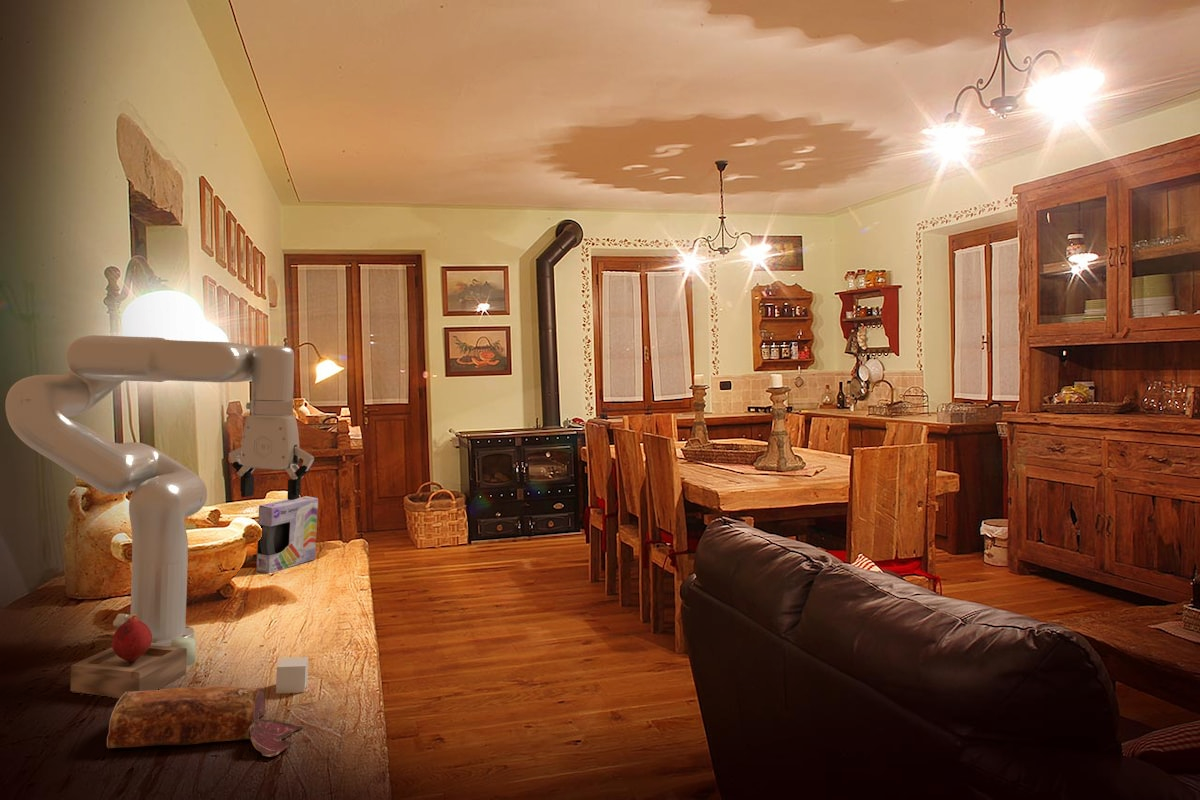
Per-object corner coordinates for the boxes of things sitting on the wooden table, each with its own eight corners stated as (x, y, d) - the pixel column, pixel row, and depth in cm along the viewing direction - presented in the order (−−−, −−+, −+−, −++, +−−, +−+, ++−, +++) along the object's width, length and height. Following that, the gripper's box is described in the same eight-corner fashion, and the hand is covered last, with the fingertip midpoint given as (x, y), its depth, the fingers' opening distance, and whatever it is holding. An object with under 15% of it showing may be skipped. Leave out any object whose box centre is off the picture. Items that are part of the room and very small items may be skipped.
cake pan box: (266, 574, 214) (269, 506, 214) (251, 572, 216) (254, 504, 216) (317, 560, 232) (319, 497, 232) (302, 558, 234) (305, 495, 233)
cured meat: (293, 760, 116) (295, 711, 116) (94, 771, 111) (96, 719, 111) (309, 711, 134) (311, 668, 134) (137, 718, 128) (139, 673, 128)
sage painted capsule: (165, 665, 149) (165, 643, 148) (179, 658, 153) (180, 636, 152) (186, 667, 148) (186, 645, 148) (199, 660, 152) (200, 638, 152)
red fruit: (133, 670, 136) (135, 621, 136) (102, 666, 137) (104, 617, 137) (159, 658, 142) (160, 612, 142) (129, 655, 143) (130, 608, 143)
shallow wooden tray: (70, 693, 135) (71, 665, 134) (122, 667, 146) (123, 642, 146) (138, 700, 133) (139, 672, 133) (185, 674, 145) (186, 648, 145)
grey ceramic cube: (275, 693, 139) (276, 667, 138) (279, 683, 143) (280, 657, 143) (304, 692, 140) (305, 666, 139) (307, 682, 144) (308, 657, 144)
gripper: (219, 408, 160) (217, 497, 160) (303, 412, 157) (301, 503, 157) (242, 407, 167) (240, 492, 167) (323, 410, 164) (321, 497, 165)
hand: (270, 497), depth 162 cm, fingers open, 9 cm apart
